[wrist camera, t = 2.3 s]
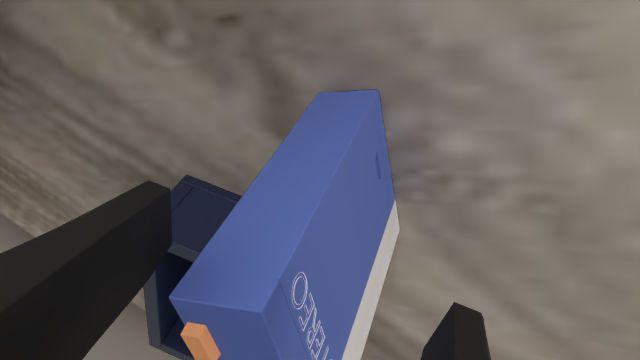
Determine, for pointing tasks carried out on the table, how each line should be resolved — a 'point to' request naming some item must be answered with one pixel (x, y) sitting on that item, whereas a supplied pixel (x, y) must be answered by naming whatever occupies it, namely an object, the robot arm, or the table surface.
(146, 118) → the table surface
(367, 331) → the walkman
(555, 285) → the table surface
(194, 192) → the holder
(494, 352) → the table surface
